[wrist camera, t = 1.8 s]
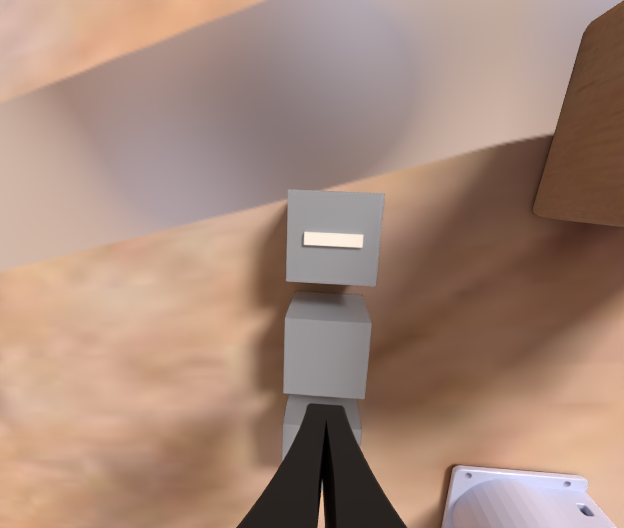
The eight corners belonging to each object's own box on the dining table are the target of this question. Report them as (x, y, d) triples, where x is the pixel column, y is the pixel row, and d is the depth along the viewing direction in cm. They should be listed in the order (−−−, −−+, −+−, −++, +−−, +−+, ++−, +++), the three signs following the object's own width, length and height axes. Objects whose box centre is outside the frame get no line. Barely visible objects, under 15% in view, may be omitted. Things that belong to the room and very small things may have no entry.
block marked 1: (370, 194, 18) (385, 193, 13) (364, 265, 19) (376, 287, 14) (297, 191, 18) (287, 189, 13) (295, 262, 19) (285, 282, 14)
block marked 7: (354, 380, 21) (362, 432, 16) (350, 432, 22) (356, 496, 17) (292, 376, 21) (282, 426, 16) (290, 428, 22) (280, 489, 17)
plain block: (362, 294, 19) (371, 323, 15) (356, 355, 20) (364, 399, 16) (294, 290, 19) (284, 318, 15) (293, 351, 20) (283, 393, 16)
